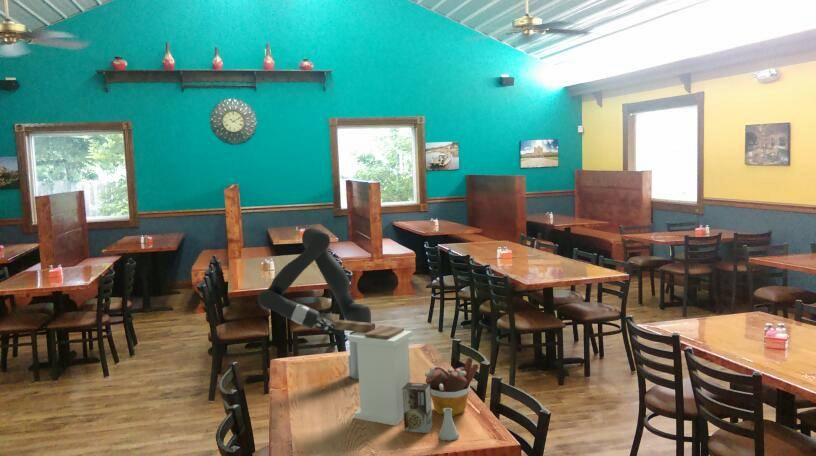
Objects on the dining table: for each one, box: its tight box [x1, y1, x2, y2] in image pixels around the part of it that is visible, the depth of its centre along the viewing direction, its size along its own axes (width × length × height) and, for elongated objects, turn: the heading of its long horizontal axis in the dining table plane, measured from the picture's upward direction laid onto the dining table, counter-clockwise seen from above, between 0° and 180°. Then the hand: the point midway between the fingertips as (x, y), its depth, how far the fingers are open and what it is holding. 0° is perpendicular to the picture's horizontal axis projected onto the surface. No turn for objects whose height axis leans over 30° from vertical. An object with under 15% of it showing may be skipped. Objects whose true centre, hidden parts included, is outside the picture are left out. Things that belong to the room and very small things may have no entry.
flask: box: [438, 408, 460, 442], centre depth 229 cm, size 7×7×10 cm
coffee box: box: [402, 382, 434, 434], centre depth 236 cm, size 9×6×16 cm
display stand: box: [347, 326, 413, 426], centre depth 249 cm, size 20×14×32 cm
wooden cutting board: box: [333, 319, 405, 339], centre depth 250 cm, size 27×12×3 cm, turn 61°
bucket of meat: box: [424, 356, 479, 417], centre depth 251 cm, size 20×16×20 cm
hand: (342, 331), depth 263 cm, fingers open, 8 cm apart
